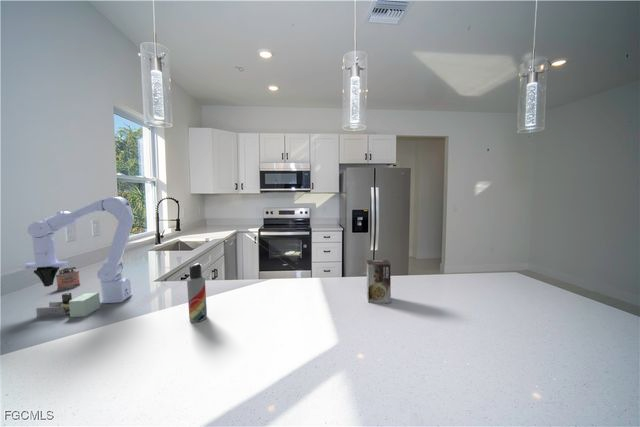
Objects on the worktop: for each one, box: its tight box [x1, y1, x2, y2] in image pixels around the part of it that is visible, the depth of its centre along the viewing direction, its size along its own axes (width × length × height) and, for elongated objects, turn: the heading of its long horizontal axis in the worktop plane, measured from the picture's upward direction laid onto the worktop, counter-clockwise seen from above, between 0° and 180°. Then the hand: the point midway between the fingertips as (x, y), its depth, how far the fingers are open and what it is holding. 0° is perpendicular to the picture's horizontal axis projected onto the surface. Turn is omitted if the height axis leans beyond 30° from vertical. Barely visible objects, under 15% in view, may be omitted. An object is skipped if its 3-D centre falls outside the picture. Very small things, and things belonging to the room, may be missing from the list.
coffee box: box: [366, 259, 392, 304], centre depth 104 cm, size 9×6×16 cm
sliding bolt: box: [60, 292, 73, 311], centre depth 96 cm, size 9×3×6 cm, turn 96°
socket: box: [69, 292, 101, 318], centre depth 97 cm, size 5×7×6 cm
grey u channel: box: [35, 301, 70, 319], centre depth 96 cm, size 9×5×4 cm, turn 96°
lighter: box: [55, 265, 81, 291], centre depth 122 cm, size 8×3×10 cm, turn 143°
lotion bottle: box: [186, 263, 208, 323], centre depth 90 cm, size 6×6×20 cm
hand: (48, 285), depth 99 cm, fingers closed
